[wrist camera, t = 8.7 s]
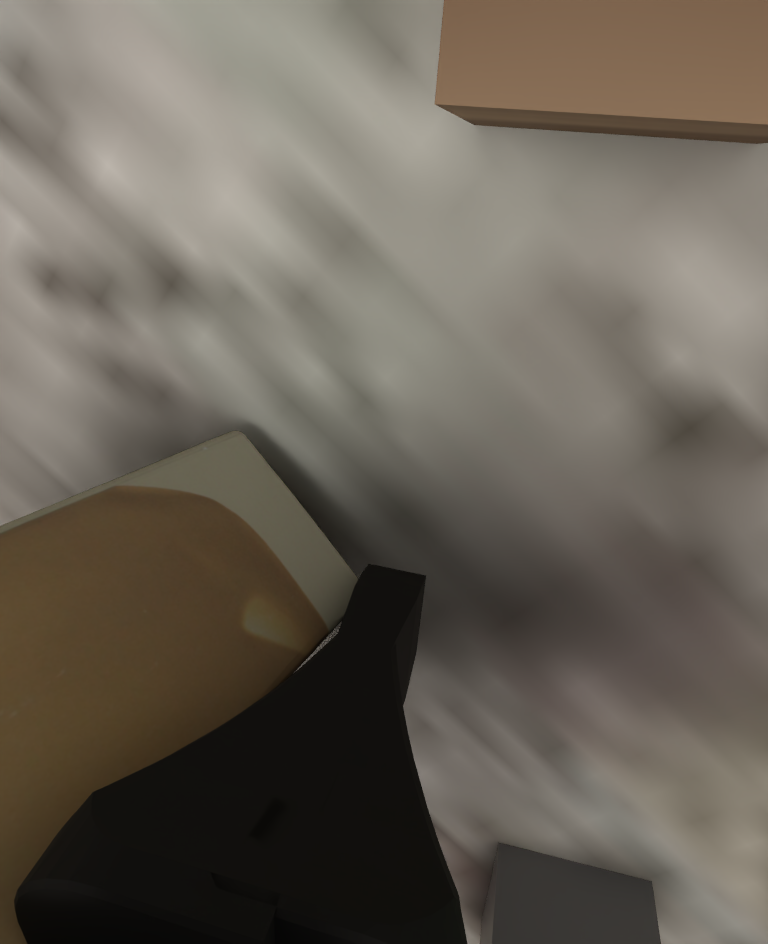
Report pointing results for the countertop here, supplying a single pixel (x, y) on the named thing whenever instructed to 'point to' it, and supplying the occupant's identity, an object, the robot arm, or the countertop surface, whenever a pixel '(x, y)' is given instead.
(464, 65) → the walnut block
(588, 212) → the countertop surface
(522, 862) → the charcoal block
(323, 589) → the skincare box
